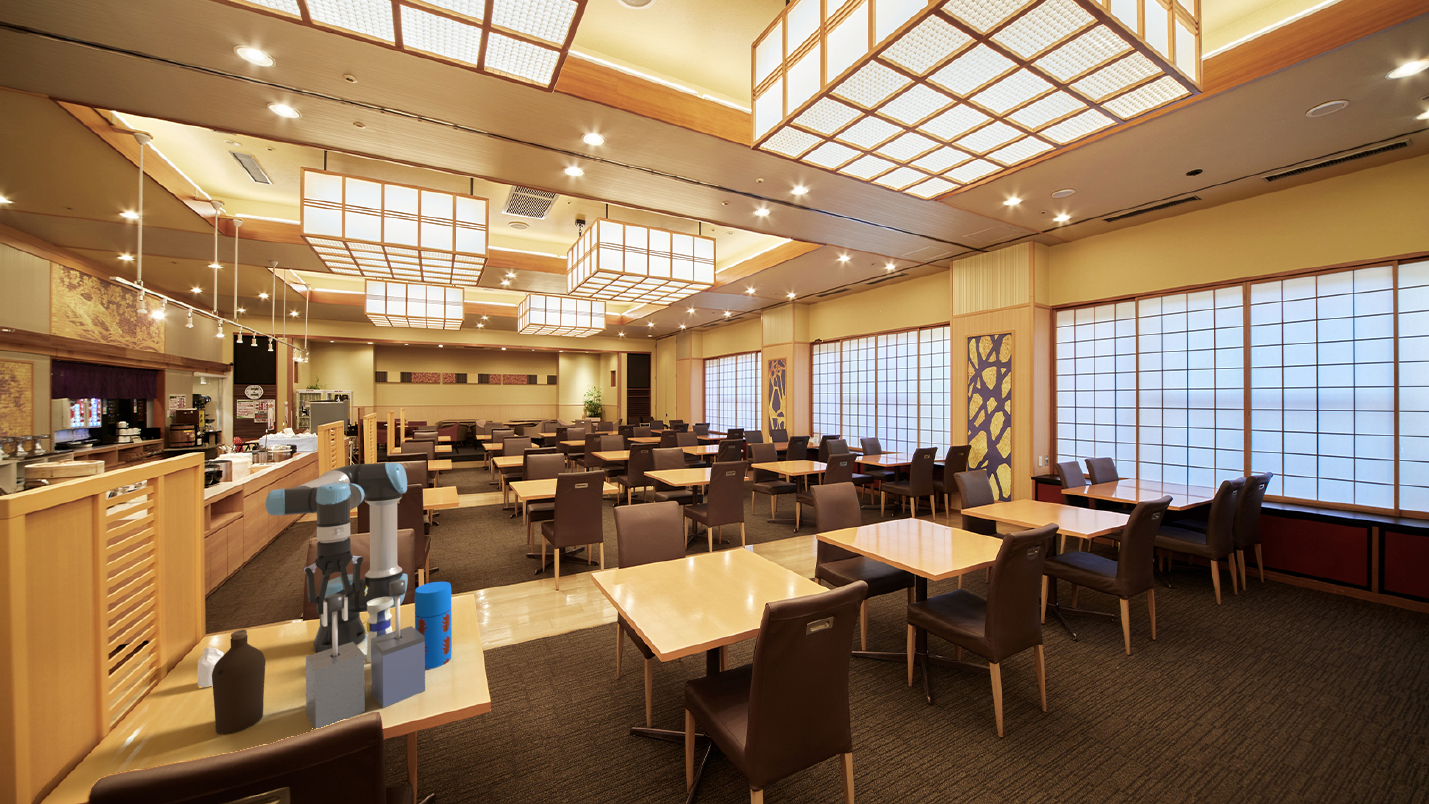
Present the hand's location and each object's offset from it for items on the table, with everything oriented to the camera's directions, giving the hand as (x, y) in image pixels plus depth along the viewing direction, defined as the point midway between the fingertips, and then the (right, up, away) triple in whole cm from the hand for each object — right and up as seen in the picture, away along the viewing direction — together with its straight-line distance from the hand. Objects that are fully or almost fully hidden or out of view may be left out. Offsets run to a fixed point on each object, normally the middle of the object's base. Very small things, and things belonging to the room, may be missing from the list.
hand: (334, 621), depth 140 cm
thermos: (+12, -26, +28) cm, 40 cm away
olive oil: (-23, -26, -4) cm, 35 cm away
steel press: (-1, -26, +1) cm, 26 cm away
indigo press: (+10, -26, +12) cm, 30 cm away
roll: (-50, -26, +15) cm, 58 cm away
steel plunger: (0, -13, 0) cm, 13 cm away
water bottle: (-8, -26, +31) cm, 41 cm away
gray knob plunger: (+11, -13, +10) cm, 20 cm away
